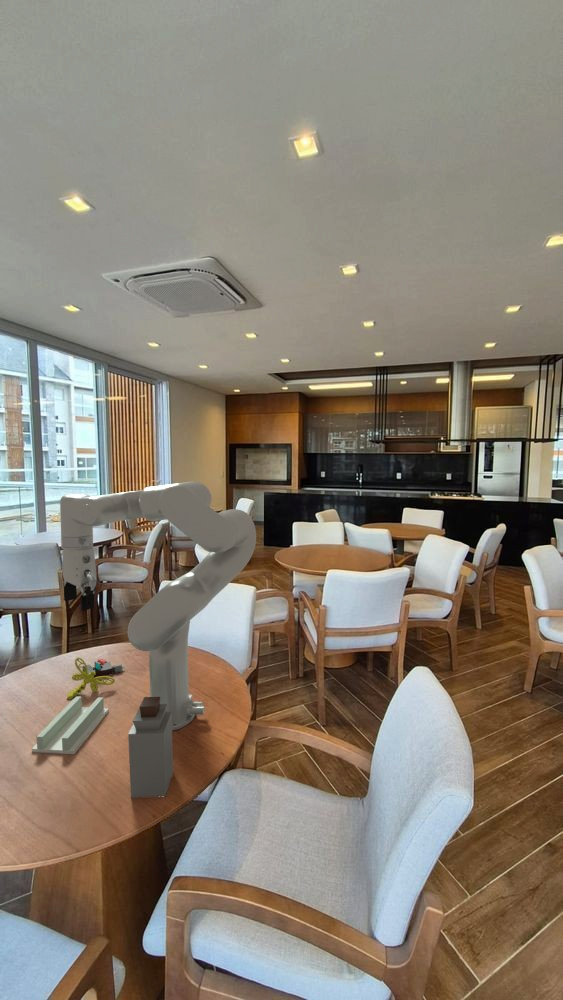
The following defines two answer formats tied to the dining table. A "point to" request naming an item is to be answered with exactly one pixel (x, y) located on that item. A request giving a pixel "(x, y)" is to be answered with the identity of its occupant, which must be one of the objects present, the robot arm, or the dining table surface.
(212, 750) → the dining table surface
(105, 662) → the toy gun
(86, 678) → the decorative insect
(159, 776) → the perfume bottle
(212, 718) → the dining table surface
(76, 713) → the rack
